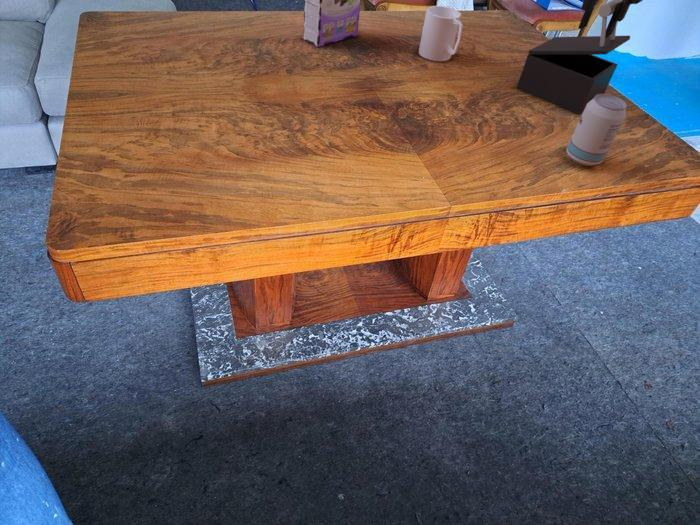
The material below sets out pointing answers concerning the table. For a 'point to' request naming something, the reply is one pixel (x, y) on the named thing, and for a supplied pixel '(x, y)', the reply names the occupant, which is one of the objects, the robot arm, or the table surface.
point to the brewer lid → (585, 39)
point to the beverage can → (596, 129)
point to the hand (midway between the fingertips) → (594, 31)
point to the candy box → (330, 20)
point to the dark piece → (566, 78)
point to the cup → (440, 33)
